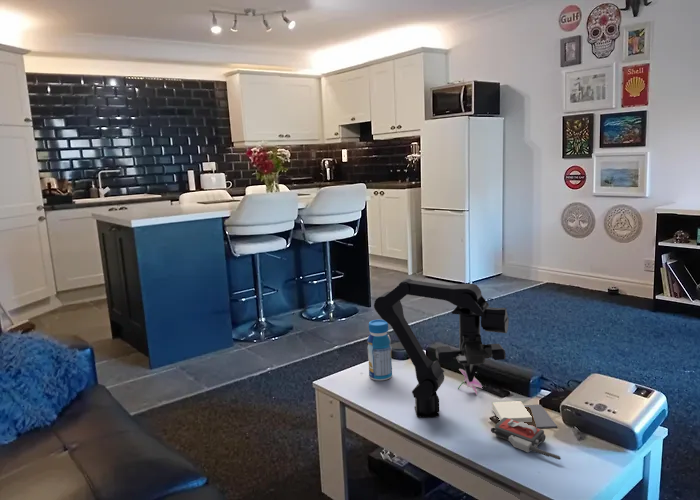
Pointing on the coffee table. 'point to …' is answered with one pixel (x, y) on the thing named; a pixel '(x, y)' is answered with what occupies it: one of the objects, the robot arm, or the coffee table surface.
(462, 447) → the coffee table surface
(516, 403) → the tile
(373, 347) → the beverage bottle
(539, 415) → the mat
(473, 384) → the lily
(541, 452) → the walkie-talkie
